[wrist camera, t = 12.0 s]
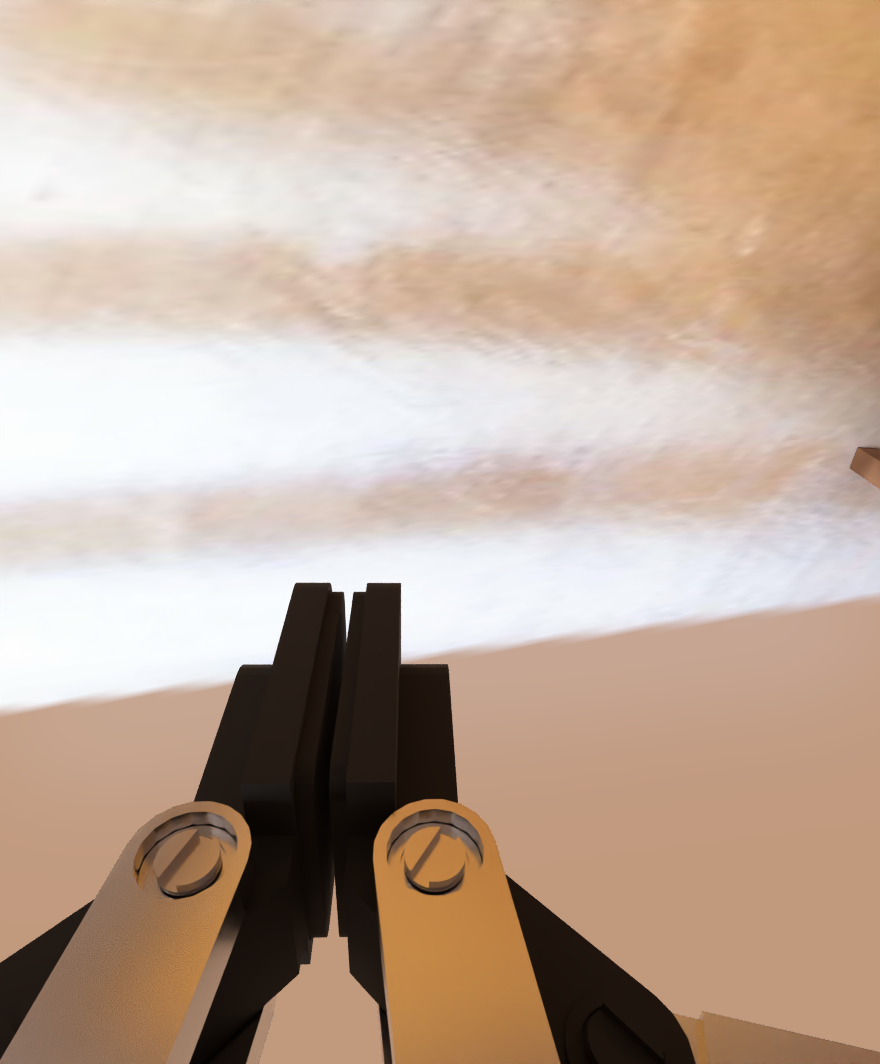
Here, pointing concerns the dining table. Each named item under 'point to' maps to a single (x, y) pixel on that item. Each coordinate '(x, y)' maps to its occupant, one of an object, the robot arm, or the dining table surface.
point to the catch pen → (867, 464)
